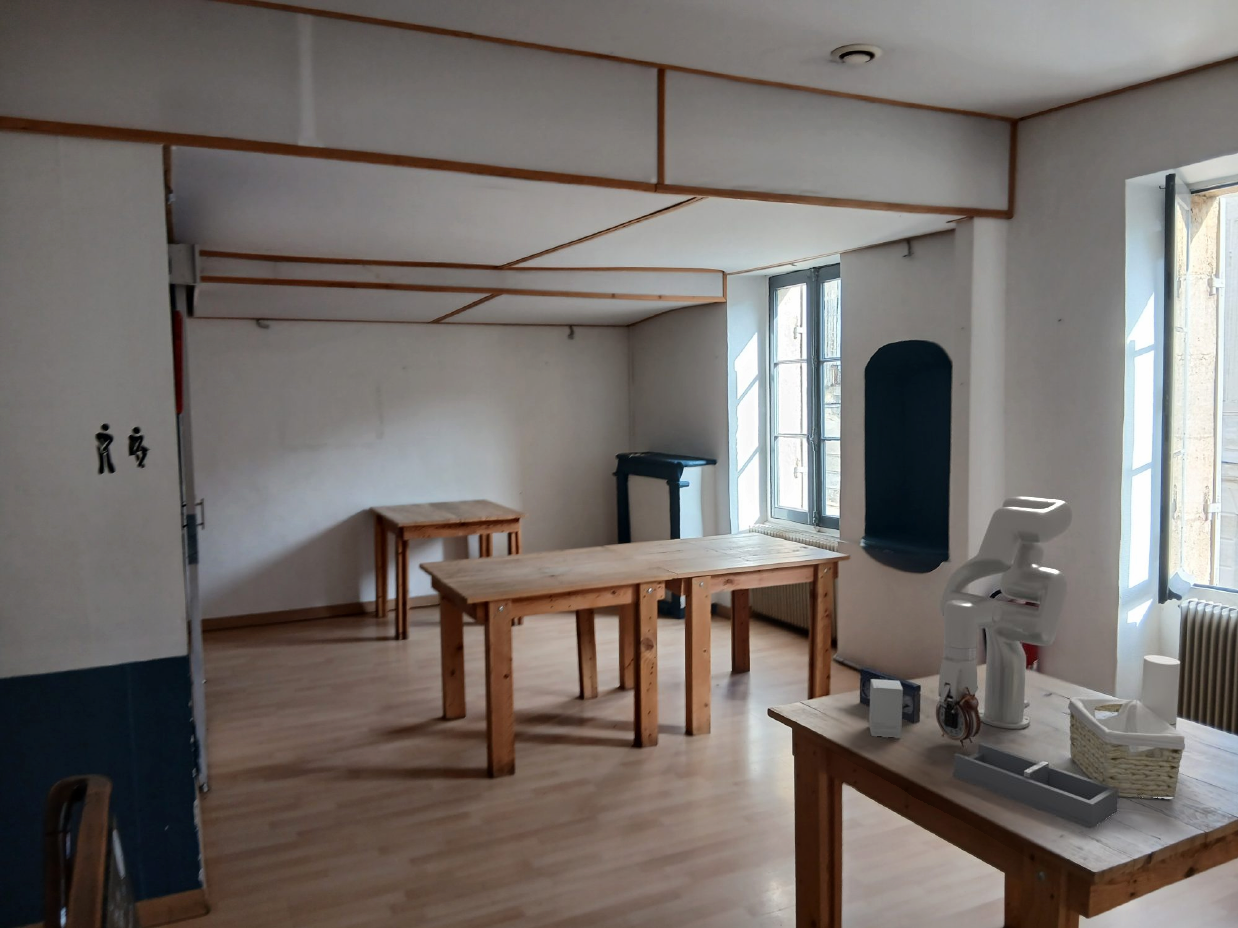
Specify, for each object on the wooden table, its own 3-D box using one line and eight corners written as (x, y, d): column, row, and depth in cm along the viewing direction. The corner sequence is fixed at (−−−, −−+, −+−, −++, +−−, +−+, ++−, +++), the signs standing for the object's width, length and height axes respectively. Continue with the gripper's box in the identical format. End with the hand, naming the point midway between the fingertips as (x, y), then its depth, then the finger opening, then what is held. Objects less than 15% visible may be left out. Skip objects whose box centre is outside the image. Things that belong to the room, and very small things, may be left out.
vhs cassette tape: (858, 703, 246) (859, 668, 245) (866, 701, 247) (867, 666, 246) (913, 724, 230) (914, 687, 229) (920, 722, 232) (921, 685, 231)
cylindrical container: (1169, 760, 208) (1175, 656, 206) (1177, 772, 201) (1183, 665, 199) (1134, 756, 210) (1140, 653, 208) (1141, 768, 204) (1147, 662, 202)
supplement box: (901, 739, 220) (903, 689, 219) (870, 736, 221) (872, 687, 220) (898, 728, 227) (900, 680, 226) (868, 725, 229) (870, 677, 228)
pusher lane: (981, 763, 206) (982, 742, 206) (1117, 811, 182) (1118, 788, 182) (952, 776, 199) (953, 754, 198) (1090, 828, 175) (1092, 804, 175)
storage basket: (1063, 754, 212) (1066, 694, 211) (1135, 758, 209) (1139, 698, 208) (1102, 799, 188) (1106, 732, 187) (1184, 805, 186) (1189, 737, 185)
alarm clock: (933, 734, 220) (934, 676, 218) (948, 731, 222) (949, 673, 220) (967, 751, 210) (969, 690, 209) (982, 747, 212) (984, 686, 211)
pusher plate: (1042, 783, 193) (1043, 761, 192) (1047, 785, 192) (1048, 762, 191) (1023, 793, 188) (1024, 770, 187) (1028, 795, 187) (1029, 772, 186)
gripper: (965, 641, 222) (963, 710, 224) (925, 655, 211) (924, 728, 213) (993, 648, 216) (991, 719, 218) (954, 662, 206) (952, 737, 207)
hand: (958, 722), depth 216 cm, fingers closed on alarm clock, 5 cm apart
